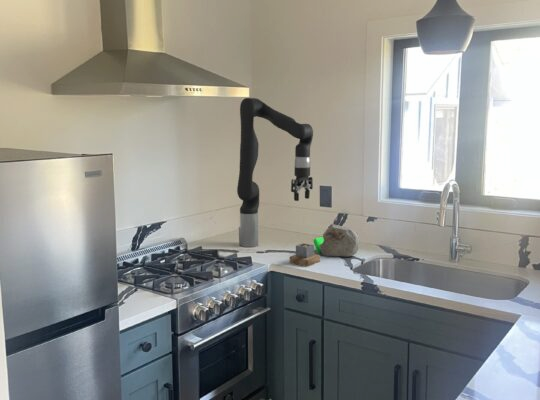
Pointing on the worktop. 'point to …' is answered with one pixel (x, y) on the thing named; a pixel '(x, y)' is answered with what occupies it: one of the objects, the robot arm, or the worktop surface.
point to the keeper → (305, 260)
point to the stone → (339, 241)
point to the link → (304, 250)
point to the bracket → (318, 243)
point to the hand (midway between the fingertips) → (301, 199)
